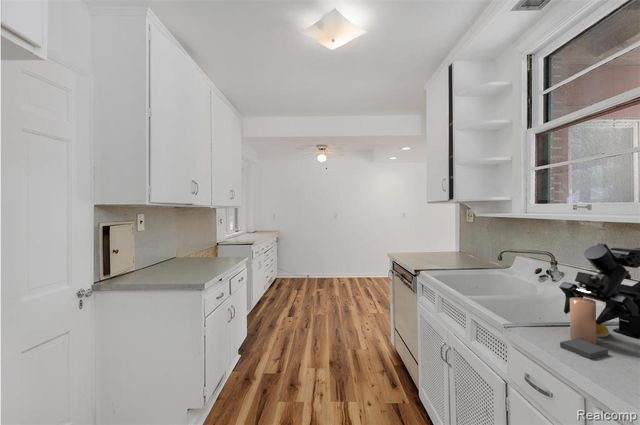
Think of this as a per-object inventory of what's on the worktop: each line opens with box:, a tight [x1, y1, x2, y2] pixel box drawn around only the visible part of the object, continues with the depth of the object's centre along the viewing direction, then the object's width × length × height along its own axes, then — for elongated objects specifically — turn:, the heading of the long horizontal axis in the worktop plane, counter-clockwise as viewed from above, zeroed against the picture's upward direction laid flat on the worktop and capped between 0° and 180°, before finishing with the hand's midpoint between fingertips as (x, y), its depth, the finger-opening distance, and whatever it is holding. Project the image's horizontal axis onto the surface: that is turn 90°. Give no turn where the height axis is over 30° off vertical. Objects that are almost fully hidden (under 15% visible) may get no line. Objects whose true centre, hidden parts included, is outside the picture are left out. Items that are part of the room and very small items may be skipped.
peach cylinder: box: [569, 297, 597, 345], centre depth 90 cm, size 6×6×12 cm
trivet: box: [559, 338, 609, 360], centre depth 84 cm, size 8×8×2 cm
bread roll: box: [596, 323, 610, 338], centre depth 96 cm, size 8×9×4 cm
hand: (580, 317), depth 90 cm, fingers open, 9 cm apart
